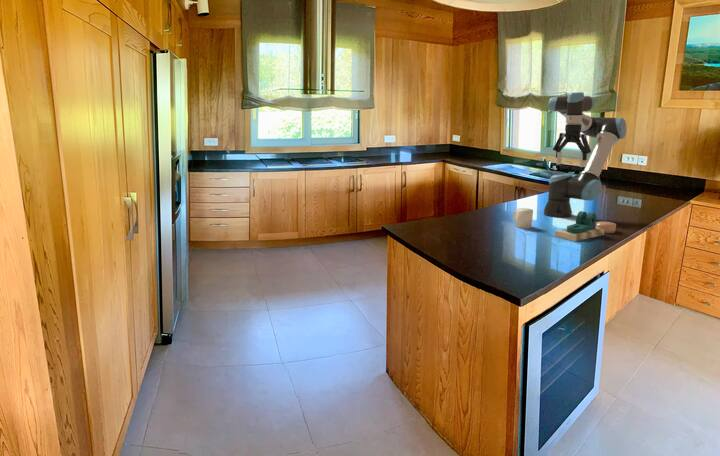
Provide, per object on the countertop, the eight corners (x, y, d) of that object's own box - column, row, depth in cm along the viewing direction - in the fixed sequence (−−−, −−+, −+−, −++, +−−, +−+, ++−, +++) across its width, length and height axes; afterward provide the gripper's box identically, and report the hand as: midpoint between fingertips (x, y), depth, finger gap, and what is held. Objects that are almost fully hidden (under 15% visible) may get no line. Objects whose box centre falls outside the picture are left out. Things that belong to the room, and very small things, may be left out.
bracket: (581, 225, 248) (583, 210, 247) (595, 228, 244) (597, 212, 242) (563, 231, 237) (565, 215, 235) (577, 234, 232) (579, 217, 230)
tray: (583, 230, 251) (584, 224, 250) (603, 234, 242) (604, 229, 241) (554, 236, 240) (555, 230, 239) (574, 241, 231) (575, 235, 230)
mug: (518, 223, 267) (519, 206, 265) (534, 227, 258) (536, 210, 256) (508, 225, 263) (509, 208, 261) (524, 229, 254) (525, 211, 252)
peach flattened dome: (602, 228, 256) (603, 220, 255) (618, 231, 248) (619, 224, 247) (591, 230, 251) (592, 222, 250) (608, 234, 244) (609, 226, 243)
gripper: (547, 123, 262) (545, 164, 267) (592, 124, 242) (588, 168, 247) (556, 122, 266) (553, 162, 271) (601, 124, 246) (596, 167, 251)
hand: (570, 165), depth 259 cm, fingers open, 13 cm apart
